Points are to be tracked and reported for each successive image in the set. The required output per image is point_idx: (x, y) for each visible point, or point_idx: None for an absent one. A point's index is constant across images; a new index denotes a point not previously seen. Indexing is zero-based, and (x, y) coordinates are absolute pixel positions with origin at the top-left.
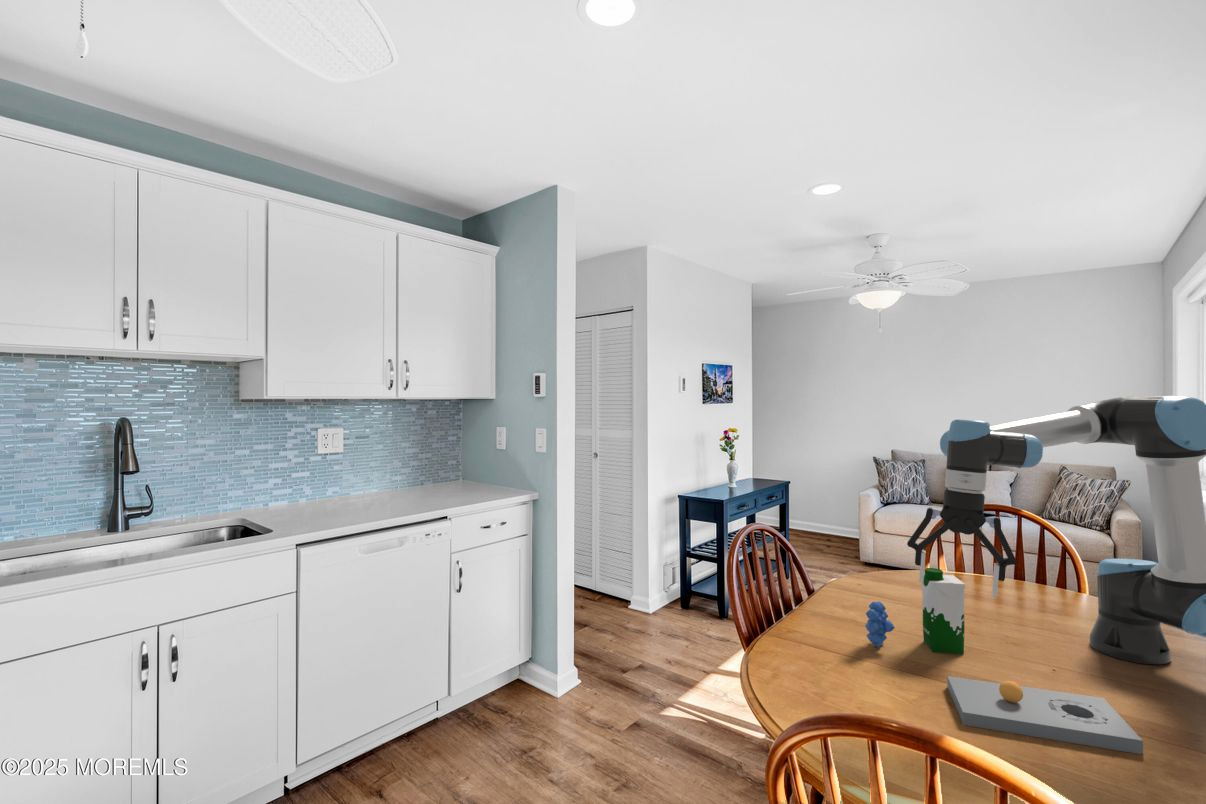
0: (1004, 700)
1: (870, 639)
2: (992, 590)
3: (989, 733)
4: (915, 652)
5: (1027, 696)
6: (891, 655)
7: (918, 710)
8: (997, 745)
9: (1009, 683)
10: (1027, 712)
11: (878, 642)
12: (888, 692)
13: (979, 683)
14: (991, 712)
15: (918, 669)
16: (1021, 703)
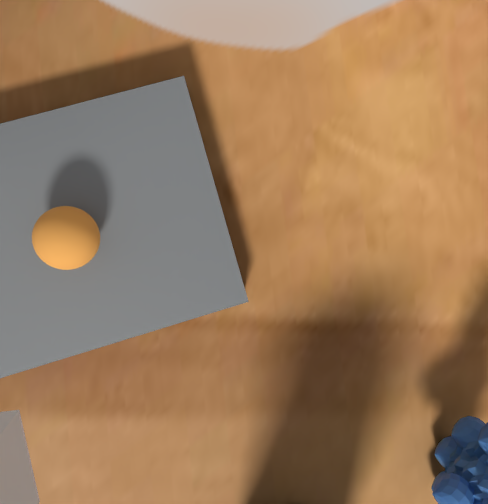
0: None
1: (475, 417)
2: (19, 490)
3: (120, 75)
4: (345, 473)
5: (36, 298)
6: (399, 410)
7: (292, 100)
8: (97, 17)
9: (62, 229)
10: (28, 185)
11: (447, 442)
12: (374, 162)
13: (163, 305)
14: (115, 123)
15: (324, 362)
16: None
